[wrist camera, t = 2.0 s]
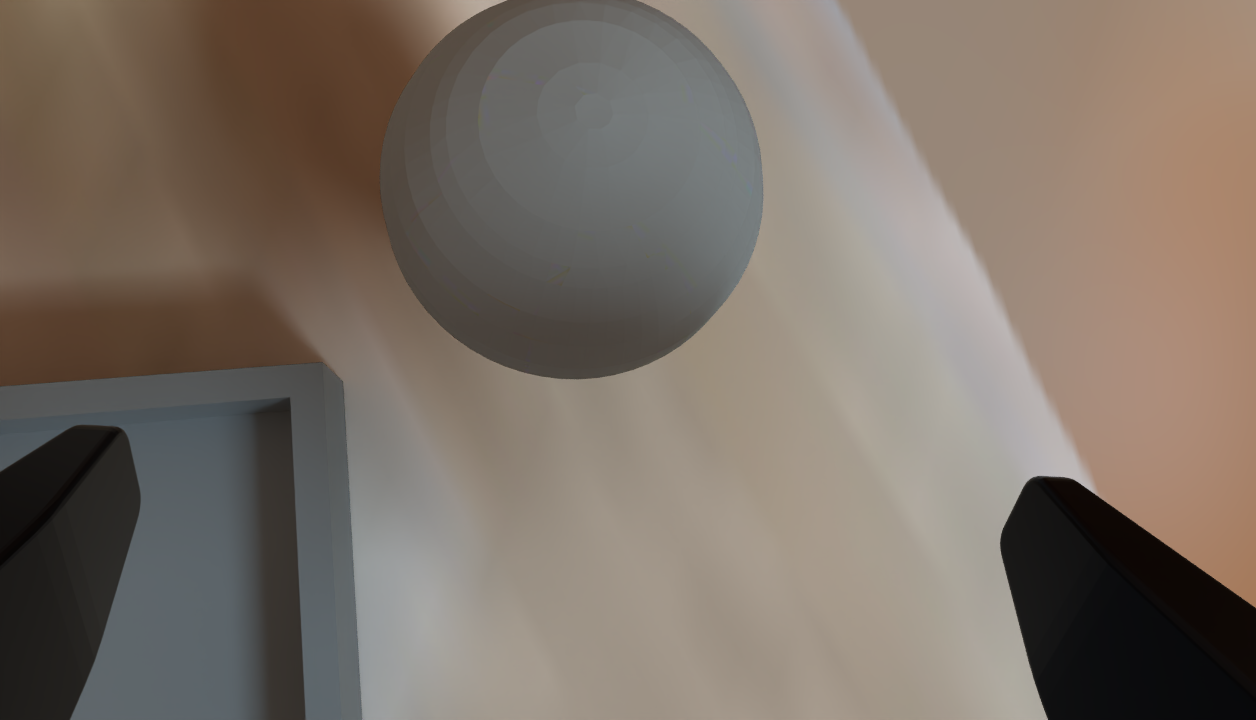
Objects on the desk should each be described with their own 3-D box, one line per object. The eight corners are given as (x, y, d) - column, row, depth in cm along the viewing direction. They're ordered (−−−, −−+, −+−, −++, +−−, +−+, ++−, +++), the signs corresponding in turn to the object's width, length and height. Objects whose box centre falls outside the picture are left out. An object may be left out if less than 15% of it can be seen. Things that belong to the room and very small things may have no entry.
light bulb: (406, 194, 21) (334, -92, 11) (649, 174, 22) (778, -108, 12) (433, 441, 20) (379, 365, 10) (684, 410, 21) (852, 313, 11)
